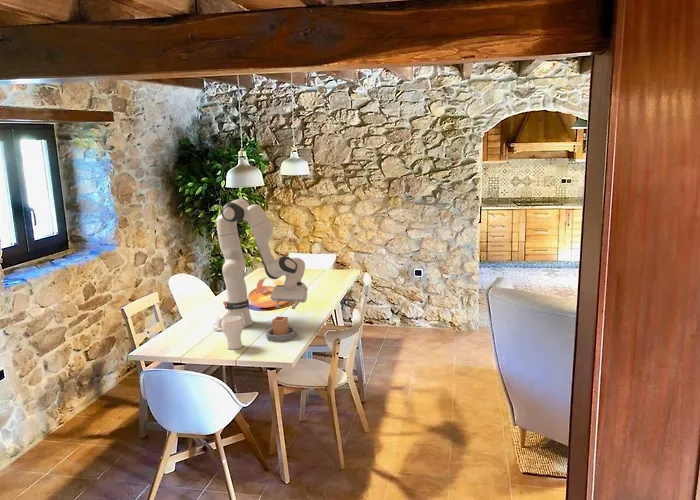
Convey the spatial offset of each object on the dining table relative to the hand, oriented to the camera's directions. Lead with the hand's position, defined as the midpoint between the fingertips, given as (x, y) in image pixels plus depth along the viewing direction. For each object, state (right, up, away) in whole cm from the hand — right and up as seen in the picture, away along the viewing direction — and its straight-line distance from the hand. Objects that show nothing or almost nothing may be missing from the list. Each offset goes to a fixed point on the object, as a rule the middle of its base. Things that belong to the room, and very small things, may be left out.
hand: (285, 308), depth 309 cm
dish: (-1, -15, -4) cm, 15 cm away
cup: (-24, -18, -14) cm, 34 cm away
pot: (-2, -14, -4) cm, 14 cm away
